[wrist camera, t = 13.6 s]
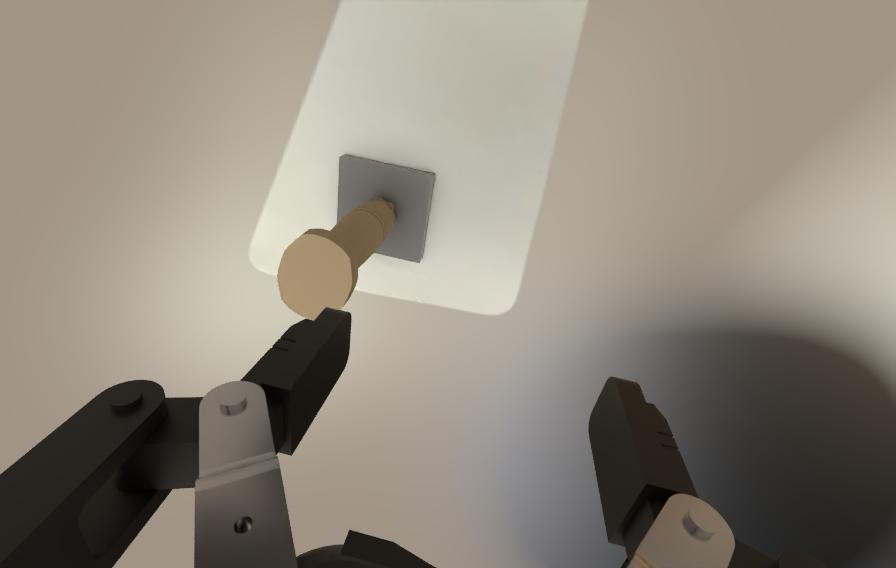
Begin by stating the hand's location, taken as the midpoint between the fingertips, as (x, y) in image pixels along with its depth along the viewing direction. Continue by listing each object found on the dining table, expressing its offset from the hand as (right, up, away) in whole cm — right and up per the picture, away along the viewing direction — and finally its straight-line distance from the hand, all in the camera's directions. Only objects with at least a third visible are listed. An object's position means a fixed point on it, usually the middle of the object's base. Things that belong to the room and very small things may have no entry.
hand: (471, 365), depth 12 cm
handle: (-7, +10, +27) cm, 30 cm away
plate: (-7, +10, +28) cm, 31 cm away
